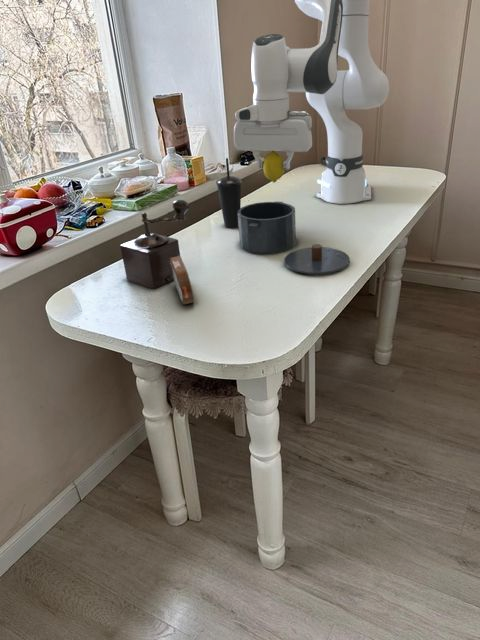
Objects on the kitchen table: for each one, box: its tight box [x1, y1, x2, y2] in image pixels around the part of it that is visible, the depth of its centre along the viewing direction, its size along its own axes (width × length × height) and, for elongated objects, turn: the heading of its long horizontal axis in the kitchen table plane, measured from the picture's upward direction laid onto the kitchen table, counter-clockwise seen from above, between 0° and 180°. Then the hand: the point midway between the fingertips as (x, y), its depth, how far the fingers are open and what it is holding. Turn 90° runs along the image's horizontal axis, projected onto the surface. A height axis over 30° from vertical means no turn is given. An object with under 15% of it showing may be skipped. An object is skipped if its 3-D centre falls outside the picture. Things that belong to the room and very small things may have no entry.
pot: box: [238, 200, 297, 255], centre depth 148 cm, size 16×21×10 cm
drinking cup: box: [215, 157, 243, 229], centre depth 160 cm, size 8×8×20 cm
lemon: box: [262, 151, 285, 183], centre depth 140 cm, size 6×6×8 cm
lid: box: [284, 243, 351, 275], centre depth 136 cm, size 17×17×5 cm
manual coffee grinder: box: [120, 199, 190, 290], centre depth 132 cm, size 16×11×18 cm
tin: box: [170, 254, 195, 305], centre depth 123 cm, size 15×3×8 cm, turn 17°
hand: (273, 168), depth 140 cm, fingers closed on lemon, 5 cm apart
